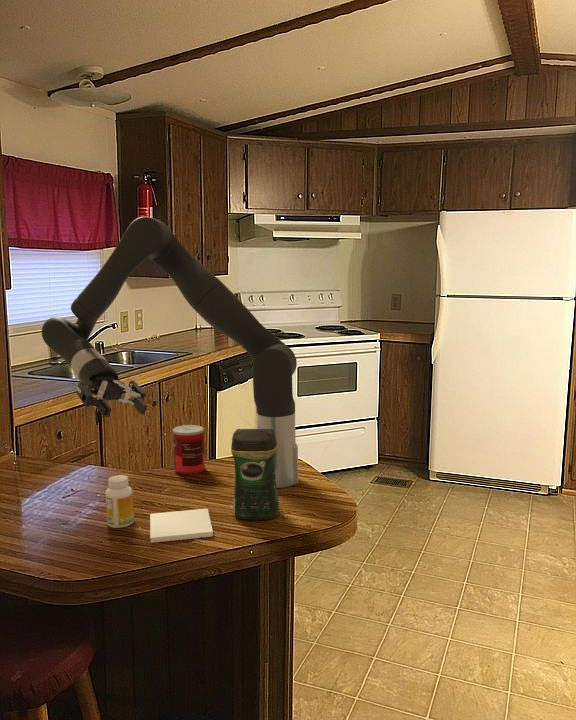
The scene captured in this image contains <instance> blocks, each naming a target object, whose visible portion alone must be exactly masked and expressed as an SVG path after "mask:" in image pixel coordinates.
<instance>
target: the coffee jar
mask: <svg viewBox="0 0 576 720" xmlns="http://www.w3.org/2000/svg"><path fill="white" fill-rule="evenodd" d="M230 452H231V455H232V457H233V462H234V489H233V490H234V492H233V515H234V516H235V517H236V518H238V519H241V520H271V519H272V518H275V517H276V516H277V515H278V513H279V511H280V505H279V494H278V488H277V486H276V478H275V465H274V458H275V455H276V452H277V441H276V436H275V432H274V430H273V429H257V428H236V430H235V431H234V432H233V434H232V437H231V446H230Z"/></svg>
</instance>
